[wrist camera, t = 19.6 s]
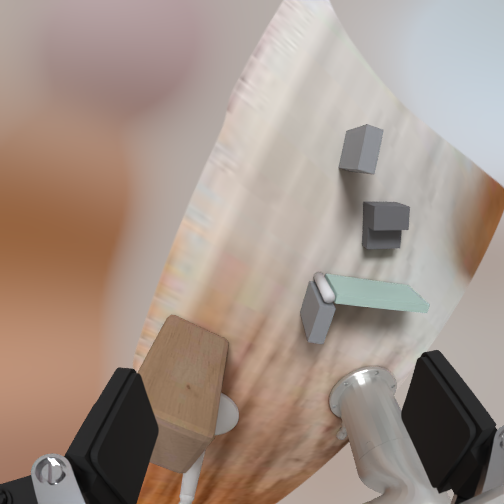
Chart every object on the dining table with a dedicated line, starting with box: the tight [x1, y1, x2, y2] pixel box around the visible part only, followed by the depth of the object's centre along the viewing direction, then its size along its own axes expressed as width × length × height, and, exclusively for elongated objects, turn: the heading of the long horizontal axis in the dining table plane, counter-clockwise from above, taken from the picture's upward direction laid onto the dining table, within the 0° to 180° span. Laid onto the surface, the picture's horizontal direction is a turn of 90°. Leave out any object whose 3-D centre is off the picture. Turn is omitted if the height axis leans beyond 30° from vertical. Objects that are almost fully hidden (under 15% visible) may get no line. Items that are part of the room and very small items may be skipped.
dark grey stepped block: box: [362, 202, 410, 249], centre depth 38 cm, size 6×5×4 cm
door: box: [314, 272, 430, 313], centre depth 39 cm, size 15×1×7 cm, turn 81°
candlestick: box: [179, 393, 239, 504], centre depth 36 cm, size 13×13×30 cm
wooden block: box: [138, 315, 228, 473], centre depth 36 cm, size 10×10×20 cm
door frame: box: [300, 124, 383, 344], centre depth 36 cm, size 26×2×8 cm, turn 168°
